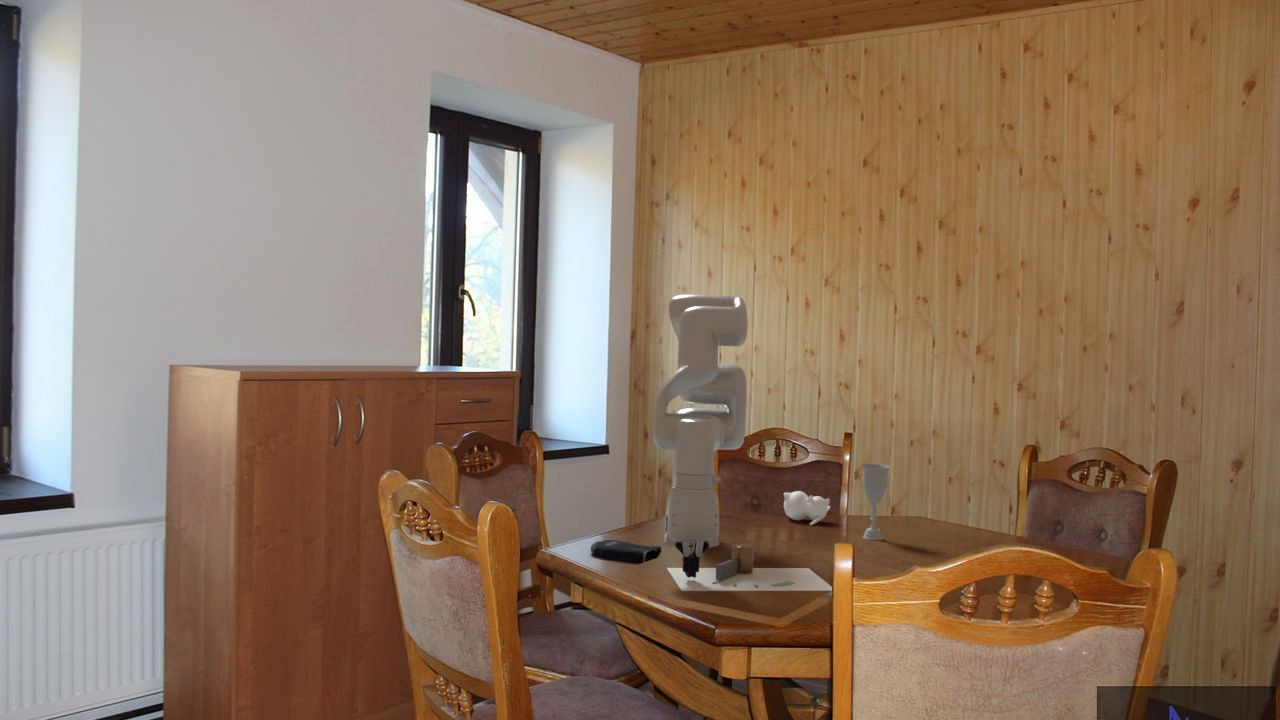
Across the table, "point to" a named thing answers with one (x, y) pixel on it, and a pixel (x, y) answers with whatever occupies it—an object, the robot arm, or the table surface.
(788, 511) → the cat figurine
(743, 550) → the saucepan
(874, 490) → the chalice
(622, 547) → the electronic device
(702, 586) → the dial board
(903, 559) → the table surface
